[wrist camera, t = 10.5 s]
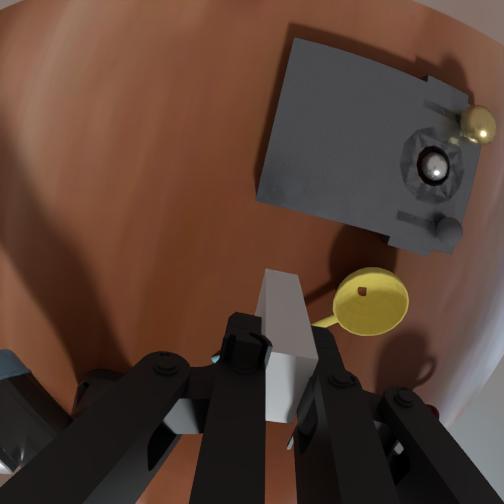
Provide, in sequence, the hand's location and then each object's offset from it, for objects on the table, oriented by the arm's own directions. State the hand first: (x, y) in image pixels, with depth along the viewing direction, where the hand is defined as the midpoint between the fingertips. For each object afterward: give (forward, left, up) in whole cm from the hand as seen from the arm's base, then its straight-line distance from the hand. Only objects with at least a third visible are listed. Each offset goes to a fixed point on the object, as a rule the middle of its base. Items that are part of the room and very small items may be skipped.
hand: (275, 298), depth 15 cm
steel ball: (+16, +10, -20) cm, 28 cm away
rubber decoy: (+19, +4, -17) cm, 26 cm away
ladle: (+7, -13, -22) cm, 26 cm away
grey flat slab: (+10, +10, -21) cm, 26 cm away
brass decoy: (+19, +17, -17) cm, 30 cm away
